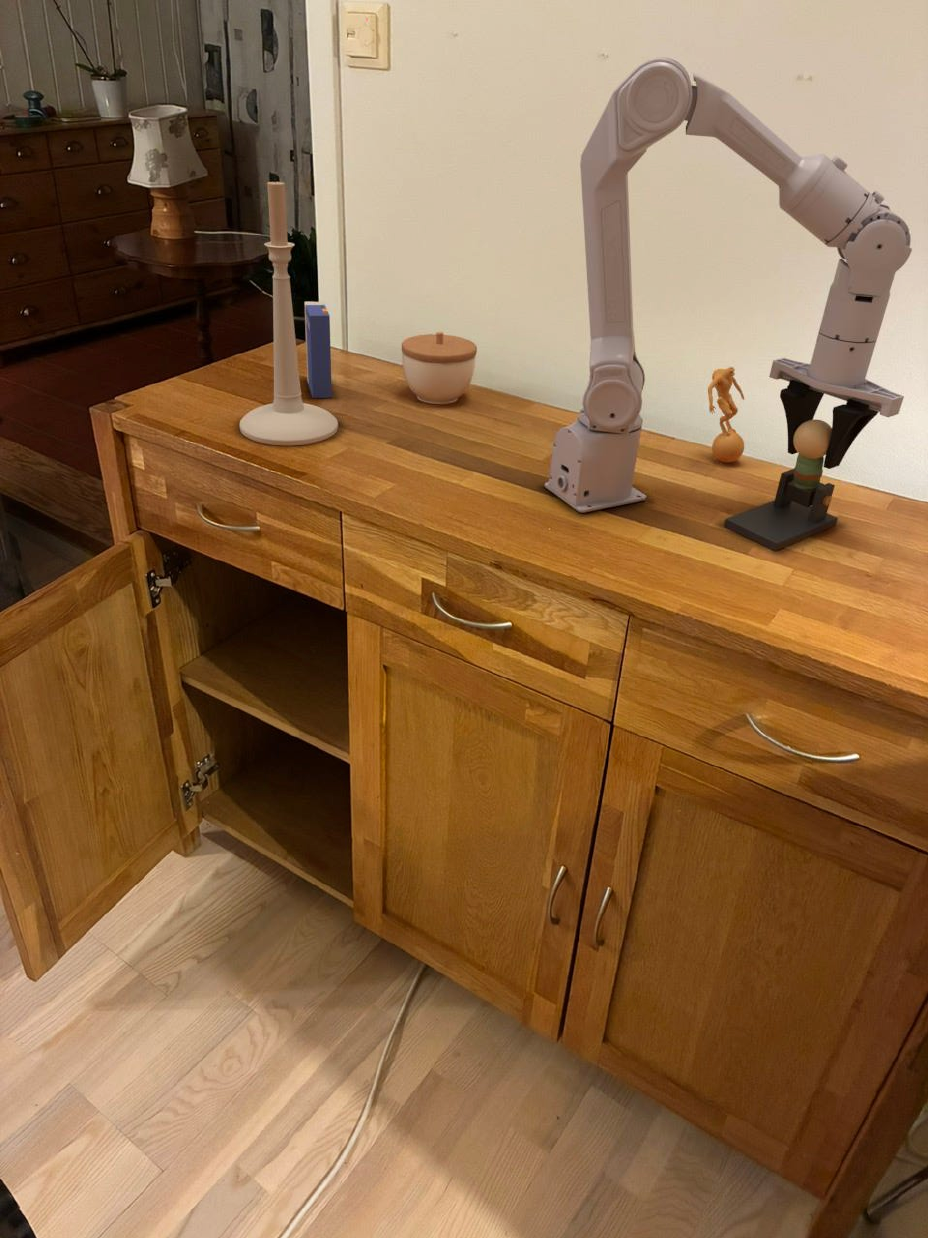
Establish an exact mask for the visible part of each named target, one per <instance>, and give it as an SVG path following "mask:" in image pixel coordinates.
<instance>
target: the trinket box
mask: <svg viewBox="0 0 928 1238" xmlns="http://www.w3.org/2000/svg"><path fill="white" fill-rule="evenodd" d="M401 352H402V355H401V356H402V359H401V360H402V362H401V363H402V371H403V377H404V379H405V380H404V381H405V382H406V384H407V386H408V388H409V389H410V390H411V392H412V393H413V394H414V395H416V398H417V400H419V401H421V402H422V403H425V404H426V403H427V404H431V405H450V404H453V403H455V402H457V401H458V400H459V397H461V396H462V395H463V394H464V393H465V392H466V391H467V390H468V388H469V387H470V385H471V383H472V380H473V376H474V373H475V368H476V355H477V353H478V347H477V344H475V343H474V341H472V340H470V339H467V338H464V337H461V336H456V335H451V334H444V332H442V331H437V332H435V333H434V334H433V333H432V334H418V335H414V336H410V337H407V338H405V339H404V340H402V342H401Z"/></svg>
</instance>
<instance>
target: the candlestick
mask: <svg viewBox="0 0 928 1238" xmlns="http://www.w3.org/2000/svg"><path fill="white" fill-rule="evenodd" d="M266 183H267V184H266V186H267V202H268V203H267V204H268V220H269V236H270V241H267V242H264V243H263V246H265V247H266V248H267V250H268V260H269V261H270V262H272V267H273V274H272V276H271V278H272V311H273V312H272V313H273V315H272V317H273V319H272V320H273V321H272V322H273V325H272V326H273V328H272V329H273V330H272V331H273V401H272V403H267V404H265V405H261V406H257V407H256V408H253V409H251V410H250V411H248V412H247V413H246V414H245V415H244V416H243V417H242V418H241V419H240V421H239V431H240V433H241V434H242V435H243V436H244V437H245V438H247V439H249V440H251V441H254V442H258V443H260V444H264V445H265V444H266V445H273V446H303V445H309V444H315V443H319V442H321V441H325V440H327V439H329V438H331V437H333V436H334V435H336V434H337V432H338V430H339V422H338V419H337V418H336V417H335V416H334V415H333V414H332V413H331V412H329V411H328V410H327V409H324V408H322V407H321V406H317V405H314V404H311V403H305V402H303V397H302V391H301V389H302V388H301V381H300V372H299V361H298V360H299V359H298V352H297V340H296V333H295V331H296V329H295V322H294V321H295V320H294V312H293V302H292V301H293V300H292V292H291V291H292V290H291V276H290V275H289V273H288V267H289V262H290V261H291V260H292V254H291V250H292V249H293V247H295V243H294V242H289V241H288V223H287V202H286V183H285V182H280V181H277V178H274V181H268V182H266Z"/></svg>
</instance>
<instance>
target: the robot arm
mask: <svg viewBox="0 0 928 1238" xmlns="http://www.w3.org/2000/svg"><path fill="white" fill-rule="evenodd" d="M692 76H693V77H692V78H693V81H694V82H695V85H693V84H692V80H691V77H690V75H689V73H688V71H687V69H686V68H685V67H684V66H683V64H682V63H680V62H679V61H677V60H675V59H673V58H670V57H663V56H662V57H655V58H652V59H651V58H650V59H648V60H646V61H643V62H642V63H641V64H639V65H638V66H637V67H636V68H635V69H634V70H633V71H632V72H631V73H630V74H629V75H628V76H627V77H626V78H625V79H623V81H622V82H621V83H620V84H619V85H618V86H617V87H616V88H615V89H614V90H613V91H612V94H611V96H610V98H609V100H608V102H607V103H606V106H605V108H604V110H603V111H602V114H601V115H600V118H599V120H598V122H597V124H596V126H595V127H594V129H593V131H592V133H591V135H590V137H589V139H588V141H587V143H586V145H585V147H584V149H583V150H582V153H581V155H580V162H579V163H580V164H579V166H580V182H581V184H580V186H581V198H582V199H581V202H582V216H583V217H582V218H583V234H584V251H585V269H586V283H587V284H586V285H587V298H588V299H587V303H588V317H589V319H588V320H589V334H590V335H589V336H590V346H589V380H588V384H587V386H586V389H585V391H584V393H583V396H582V408H581V409H580V410H579V413H578V418H577V419H576V420H575V421H574V422H573V423H570V424H569V425H566V426H564V427H561V428H560V429H558V430H557V432H556V433H555V435H554V438H553V441H552V449H551V459H550V467H549V477H548V481H547V482H544V487H545V488H546V489H547V490H548V491H549V492H551V493H553V494H554V495H555V496H556V497H558V498H559V499H560V500H561V501H563V502H565V503H566V504H568V505H569V506H570V507H572V508H573V509H574V510H576V511H577V512H579V513H588V512H593V511H598V510H603V509H604V510H605V509H608V508H613V507H618V506H623V505H628V504H634V503H639V502H643V501H646V500H647V495H646V494H645V493H643V492H641V491H640V490H638V489H637V488H635V487H633V482H634V478H635V477H634V476H635V470H636V465H637V458H638V451H639V447H640V446H639V445H640V440H641V433H642V428H643V421H644V419H643V417H642V416H641V415H640V413H641V410H642V407H643V406H642V405H643V398H642V397H643V396H642V393H643V390H644V387H645V382H646V374H645V369H644V368H643V366H642V364H641V362H640V360H639V359H638V356H637V353H636V352H637V351H636V339H635V338H636V337H635V332H634V331H635V330H634V311H633V310H634V309H633V285H632V284H633V282H632V281H633V280H632V254H631V252H632V251H631V229H630V227H631V226H630V198H629V197H630V196H629V172H630V171H631V170H632V169H633V168H634V166H635V165H636V164H637V163H638V162H639V160H641V158H642V157H643V156H644V155H645V153H646V152H647V149H649V148H650V147H651V146H653V145H655V144H656V143H658V142H660V141H661V140H663V139H664V138H666V137H667V136H669V135H671V133H673V132H674V131H676V130H677V129H678V128H679V127H680V126H681V125H682V124H683V122H685V121H686V125H685V135H687V136H695V137H696V136H697V137H706V138H707V137H708V138H709V137H710V138H715V139H717V140H719V142H721V143H722V144H723V145H725V146H726V147H727V148H729V149H730V150H732V151H733V152H734V153H735V154H737V155H738V156H739V157H740V158H741V159H742V160H745V162H747V163H748V164H750V165H751V166H752V167H753V168H755V169H756V170H757V171H759V172H760V173H761V174H762V175H764V176H765V177H767V178H768V179H769V180H771V181H772V182H773V183H774V184H776V186H778V195H779V196H778V203H779V208H780V209H781V210H782V211H783V212H785V214H787V215H788V216H790V217H791V218H792V219H793V220H795V222H797V223H798V224H800V226H802V227H803V228H804V229H805V230H807V231H808V232H809V233H810V234H811V235H813V237H815V238H817V240H819V241H820V242H821V243H823V244H824V245H825V246H826V247H827V248H836V250H837V253H838V255H839V257H840V258H839V259H838V262H837V266H836V270H835V274H834V277H833V281H832V283H831V285H830V287H829V290H828V295H827V298H826V302H825V307H824V310H823V314H822V317H821V322H820V325H819V330H818V333H817V337H816V341H815V344H814V348H813V351H812V356H811V360H810V363H807V362H802V361H796V360H792V359H790V358H785V357H782V358H778V359H774V360H772V363H771V367H770V372H769V378H771V379H772V380H773V379H774V380H776V381H777V380H782V381H785V382H788V385H787V386H786V387H785V388H782V389H781V390H780V394H779V395H780V396H779V398H780V400H781V403H782V406H783V410H784V414H785V420H786V427H787V429H786V430H787V453H788V454H790V455H795V454H799V453H798V452H797V451H796V449H795V447H794V443H793V439H794V434H795V432H796V430H797V429H798V427H799V426H800V425H801V424H803V423H804V422H806V421H809V420H814V418H815V415H816V412H817V410H818V407H819V405H820V403H821V401H822V399H823V397H824V395H827V396H830V397H833V398H837V399H838V400H842V401H845V403H843V404H840V405H836V406H834V407H833V408H832V422H831V423H832V425H831V428H832V433H831V439H830V443H829V446H828V449H827V453H826V455H824V456H825V457H824V462H823V468H824V469H825V468H826V469H828V470H831V469H833V468H837V467H839V466H840V465H841V463H842V461H843V459H844V458H845V455H846V454H847V452H848V450H849V449H850V447H851V446H852V444H853V442H854V441H855V440H856V438H857V437H858V436H859V434H860V433H862V431H863V430H864V429H865V427H866V426H867V425H868V424H870V422H871V421H872V420H873V419H874V418H875V417H876V416H877V415H878V414H879V415H880V416H882V417H886V418H890V417H894V416H897V415H899V414H900V411H901V407H902V404H903V401H904V398H905V396H904V395H902V394H899V393H896V392H894V391H891V390H889V389H887V388H885V387H883V386H882V385H879V384H877V383H875V382H872V381H871V380H868V379H866V377H867V374H868V372H869V368H870V364H871V361H872V357H873V354H874V350H875V349H876V345H877V341H878V338H879V334H880V331H881V327H882V325H883V321H884V317H885V314H886V310H887V307H888V304H889V300H890V297H891V289H892V285H893V282H894V280H895V276H896V272H898V271H899V270H900V269H901V268H902V267H903V266H904V265H905V264H906V262H907V261H908V259H909V258H910V256H911V254H912V252H913V248H912V247H911V240H912V239H911V233H910V229H909V226H908V224H907V223H906V222H905V220H904V219H902V218H901V217H900V216H898V215H897V213H894V212H893V211H892V210H891V208H890V206H889V205H887V204H884V203H883V202H884V200H885V197H884V195H882V194H881V193H880V192H879V191H877V190H874V191H873V192H872V193H871V192H870V191H869V190H868V189H866V187H864V186H863V185H862V184H860V183H859V182H858V181H857V180H856V179H855V178H853V177H852V176H851V175H850V174H849V173H847V172H846V171H845V170H846V169H847V167H848V163H847V162H846V161H844V160H843V159H842V158H841V157H840V156H839V155H834V156H833V158H830V157H828V155H826V154H825V153H818V154H813V155H807V156H801V155H800V154H799V153H797V152H796V151H795V150H794V148H792V147H790V145H788V144H787V142H785V141H784V140H783V139H782V138H781V137H779V136H778V135H777V134H776V133H775V131H773V130H771V128H769V127H768V126H767V125H766V124H765V123H764V122H762V121H761V120H760V119H759V118H758V117H757V116H755V115H754V114H753V112H751V111H750V110H749V109H748V108H747V107H746V106H744V104H743V103H741V102H740V101H739V100H738V99H737V98H736V97H734V96H733V95H732V94H731V93H730V92H728V91H727V90H726V89H724V88H722V87H721V86H718V85H717V84H715V83H713V82H711V81H710V80H708V79H706V78H704V77H703V76H701V75H698V74H697V73H696V72H693V73H692Z"/></svg>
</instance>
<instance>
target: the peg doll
mask: <svg viewBox="0 0 928 1238" xmlns="http://www.w3.org/2000/svg"><path fill="white" fill-rule="evenodd" d="M831 433H832V425H830V424H829V423H828V422H826V421H824V420H821V419H813V420H809V421H806V422H804V423H803V424H801V425H800V426H799V427H798V429H797V430H796V432H795V434H794V439H793V443H794V447H795V449H796V451H797V452H798V453H797V457H796V462H795V466H794V468H793V469H794V480H792V481H791V482H789V483H788V485H787V491H786V497H785V498H786V499H788V500H791V501H793V502H795V503H798V504H800V505H802V506H805V507H807V508H808V507H810V506H812V503H813V499H814V496H815V492H816V488H817V487H819V486H822V485H825V483H823V482H821V478H822V476H823V472H824V470H823V468H824V460H825V457H824V456H826V453H827V449H828V446H829V443H830V439H831Z"/></svg>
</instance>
